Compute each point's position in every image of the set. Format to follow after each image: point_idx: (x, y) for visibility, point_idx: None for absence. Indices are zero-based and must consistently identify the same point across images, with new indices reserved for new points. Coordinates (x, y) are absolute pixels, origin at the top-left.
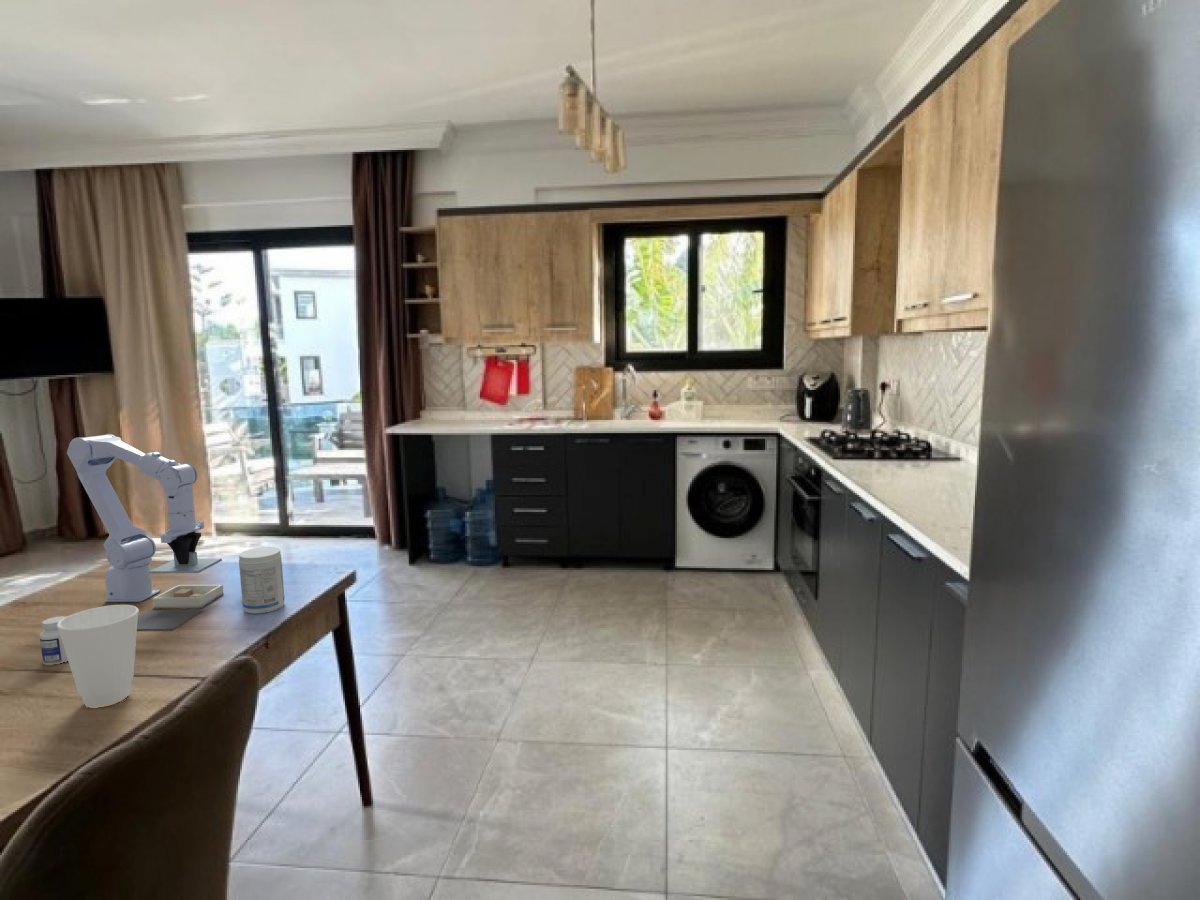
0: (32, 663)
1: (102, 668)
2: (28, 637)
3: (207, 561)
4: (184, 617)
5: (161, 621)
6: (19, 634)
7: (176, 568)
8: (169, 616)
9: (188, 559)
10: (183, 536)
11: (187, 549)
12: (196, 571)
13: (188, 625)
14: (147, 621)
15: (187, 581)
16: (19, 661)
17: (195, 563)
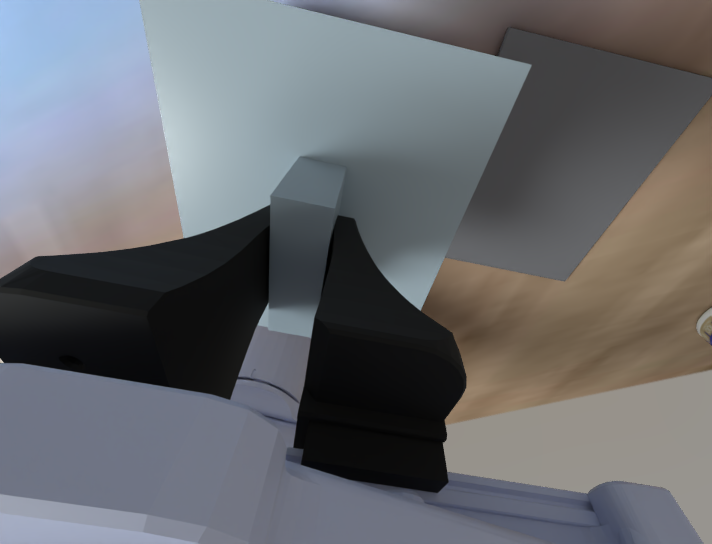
0: (701, 351)
1: None
2: (504, 397)
3: (239, 96)
4: (578, 86)
5: (576, 168)
6: (477, 410)
7: (388, 255)
8: (527, 159)
9: (338, 223)
10: (319, 439)
11: (363, 270)
12: (521, 81)
13: (699, 21)
14: (543, 217)
15: (135, 241)
16: (662, 371)
17: (326, 166)
